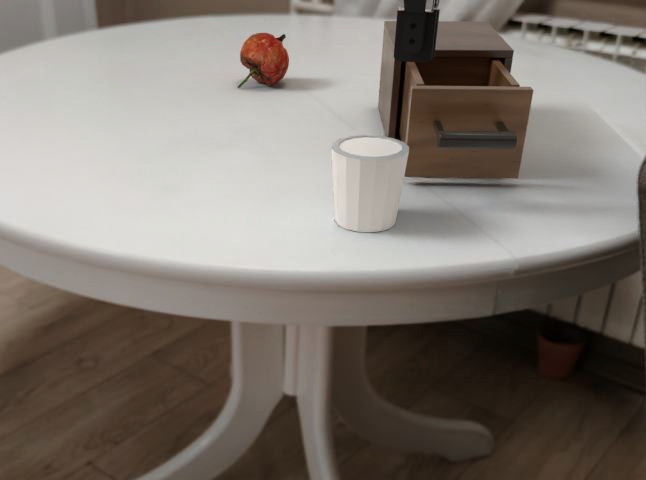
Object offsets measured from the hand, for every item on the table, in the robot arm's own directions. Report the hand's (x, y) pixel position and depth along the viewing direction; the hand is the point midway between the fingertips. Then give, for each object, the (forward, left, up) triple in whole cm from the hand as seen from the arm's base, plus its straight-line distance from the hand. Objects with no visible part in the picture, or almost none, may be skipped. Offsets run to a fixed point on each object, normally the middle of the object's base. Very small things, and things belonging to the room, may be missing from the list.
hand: (413, 59), depth 69 cm
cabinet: (-7, -27, -14) cm, 31 cm away
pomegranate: (+15, -45, -14) cm, 49 cm away
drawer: (-7, -11, -13) cm, 18 cm away
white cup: (+3, +2, -14) cm, 15 cm away
